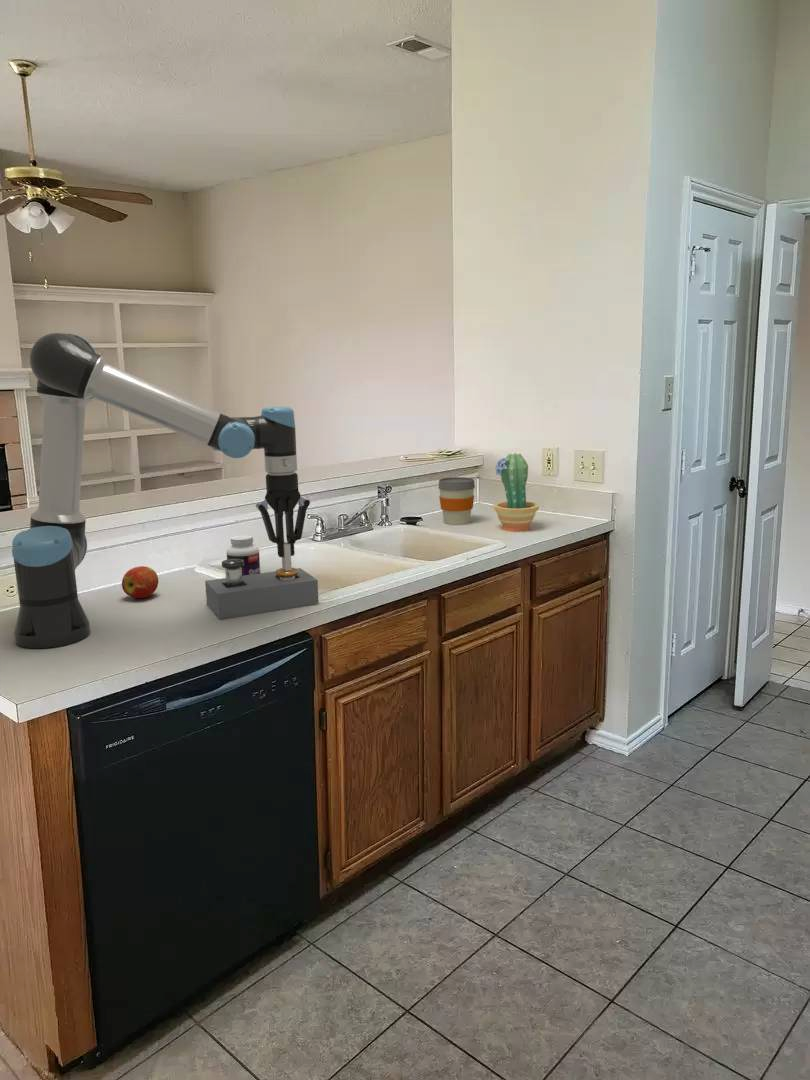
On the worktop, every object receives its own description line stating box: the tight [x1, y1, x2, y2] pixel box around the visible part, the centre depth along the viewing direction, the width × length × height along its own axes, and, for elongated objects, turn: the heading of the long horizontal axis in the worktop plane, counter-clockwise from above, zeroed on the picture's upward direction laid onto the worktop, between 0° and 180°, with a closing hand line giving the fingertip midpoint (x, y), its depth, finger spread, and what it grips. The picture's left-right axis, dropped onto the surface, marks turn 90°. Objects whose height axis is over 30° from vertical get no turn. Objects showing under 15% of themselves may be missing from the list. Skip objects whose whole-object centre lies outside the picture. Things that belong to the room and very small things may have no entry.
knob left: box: [221, 559, 244, 588], centre depth 199 cm, size 5×5×8 cm
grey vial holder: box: [204, 567, 320, 620], centre depth 203 cm, size 24×13×6 cm, turn 115°
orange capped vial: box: [275, 567, 298, 581], centre depth 205 cm, size 5×5×8 cm
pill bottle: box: [226, 534, 261, 576], centre depth 212 cm, size 8×8×14 cm
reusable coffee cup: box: [438, 476, 476, 526], centre depth 292 cm, size 13×13×15 cm
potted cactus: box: [493, 453, 540, 532], centre depth 279 cm, size 15×15×25 cm
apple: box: [121, 565, 159, 599], centre depth 211 cm, size 8×8×8 cm
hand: (287, 569), depth 204 cm, fingers closed
